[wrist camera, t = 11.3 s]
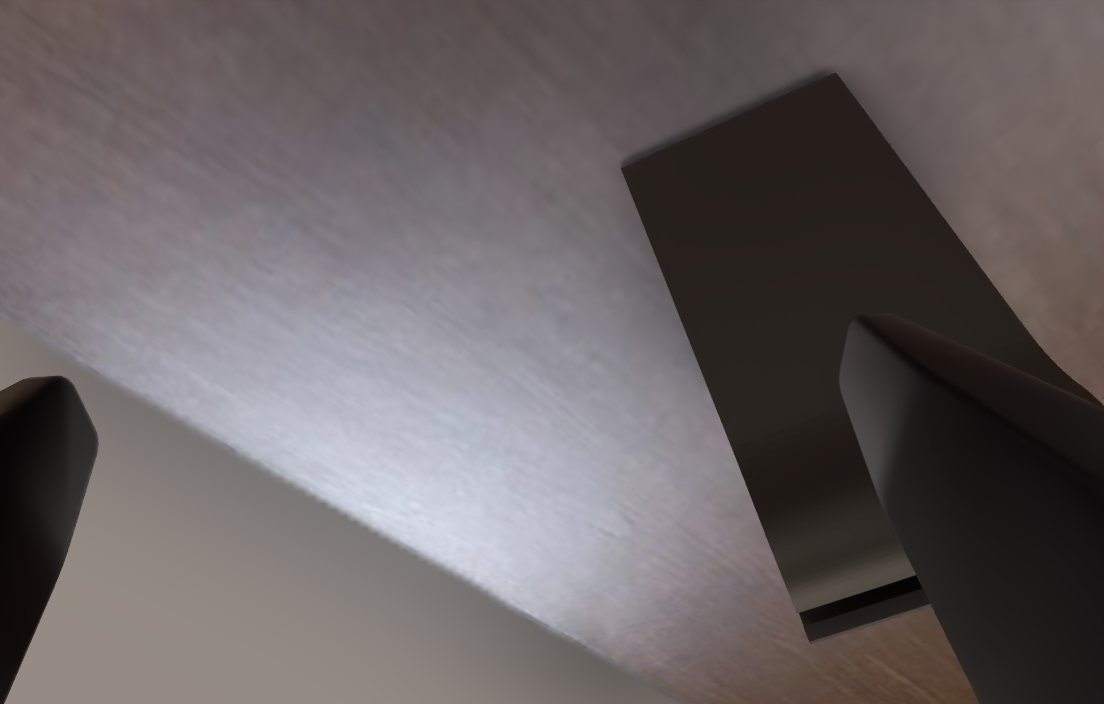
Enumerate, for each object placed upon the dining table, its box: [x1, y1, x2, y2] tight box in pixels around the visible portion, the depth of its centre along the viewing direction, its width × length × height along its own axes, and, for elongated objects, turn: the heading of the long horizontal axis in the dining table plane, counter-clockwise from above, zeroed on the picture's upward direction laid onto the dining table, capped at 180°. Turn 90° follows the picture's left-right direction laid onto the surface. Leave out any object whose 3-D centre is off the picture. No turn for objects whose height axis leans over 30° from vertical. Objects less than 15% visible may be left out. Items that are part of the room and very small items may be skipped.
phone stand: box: [621, 73, 1104, 644], centre depth 18 cm, size 9×6×12 cm, turn 24°
